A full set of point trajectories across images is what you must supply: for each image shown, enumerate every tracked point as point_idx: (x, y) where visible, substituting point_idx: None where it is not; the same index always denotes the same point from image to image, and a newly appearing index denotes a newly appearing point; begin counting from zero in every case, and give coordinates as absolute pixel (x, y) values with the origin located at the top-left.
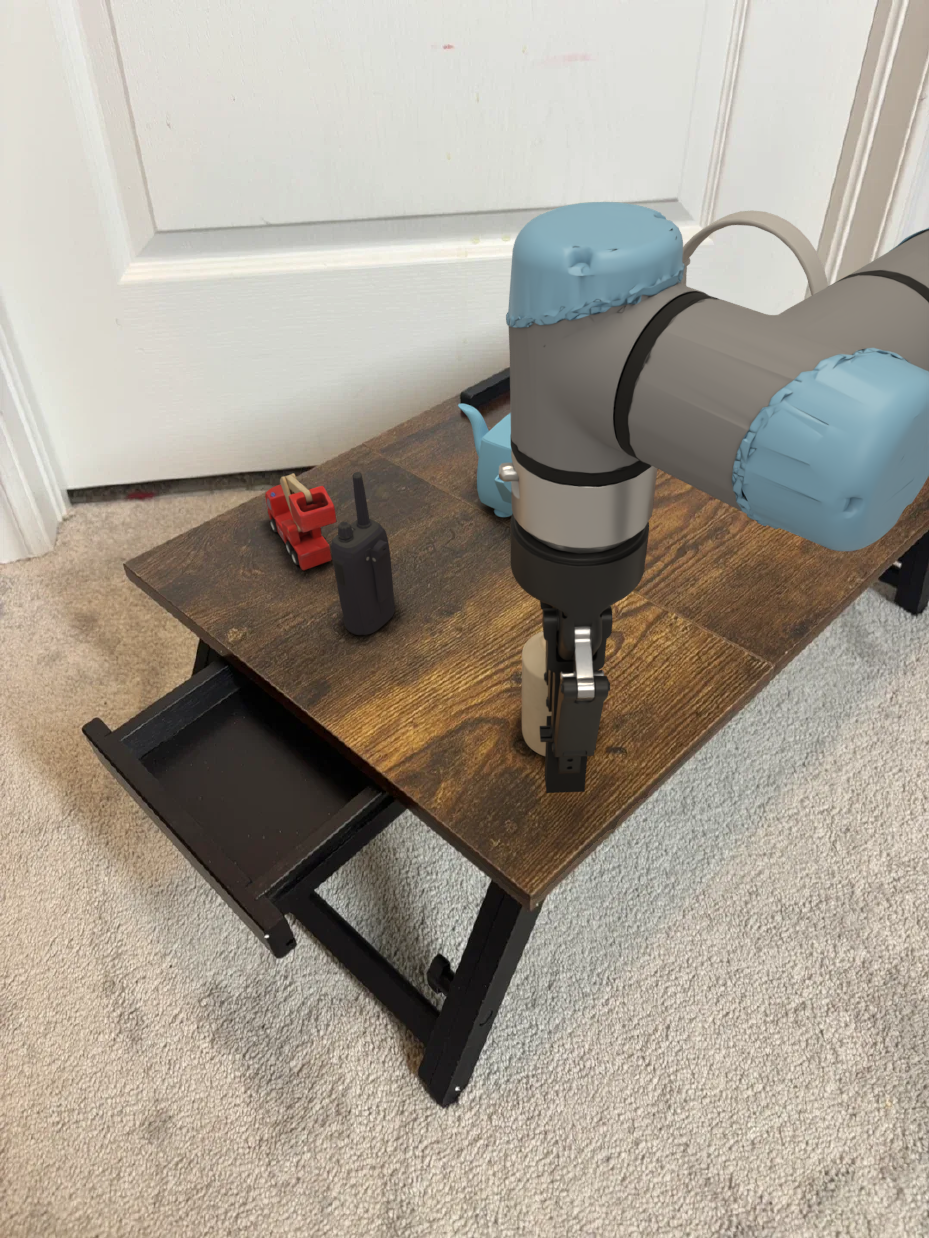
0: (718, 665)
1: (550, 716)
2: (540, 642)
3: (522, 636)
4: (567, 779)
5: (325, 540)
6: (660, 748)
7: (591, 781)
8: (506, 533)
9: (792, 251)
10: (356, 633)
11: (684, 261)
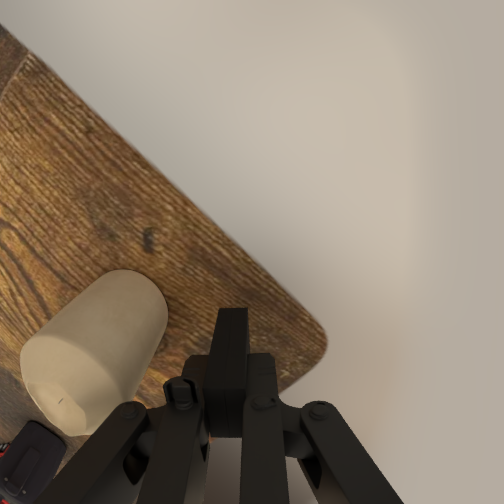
0: (26, 106)
1: (211, 432)
2: (67, 430)
3: (17, 325)
4: (248, 342)
5: (2, 454)
6: (142, 182)
7: (199, 275)
8: None
9: None
10: (65, 449)
11: None
